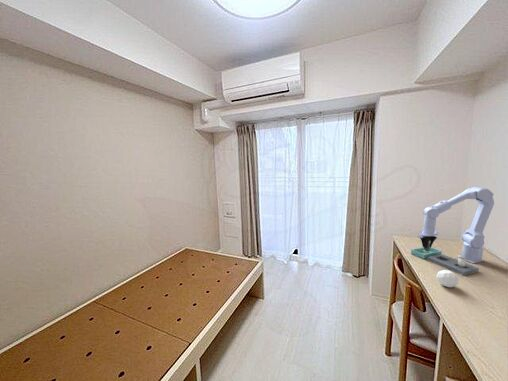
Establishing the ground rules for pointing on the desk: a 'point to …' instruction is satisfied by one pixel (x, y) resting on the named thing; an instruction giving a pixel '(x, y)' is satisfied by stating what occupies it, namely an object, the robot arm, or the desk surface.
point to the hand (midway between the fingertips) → (426, 247)
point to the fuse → (461, 261)
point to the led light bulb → (427, 248)
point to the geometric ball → (447, 278)
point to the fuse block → (452, 264)
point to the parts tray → (423, 255)
